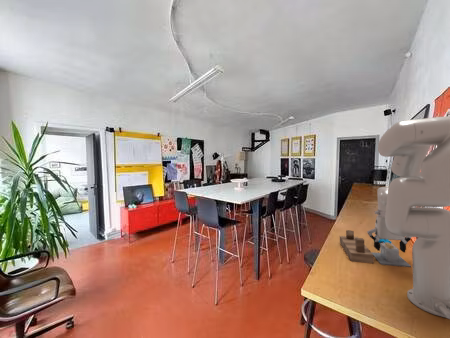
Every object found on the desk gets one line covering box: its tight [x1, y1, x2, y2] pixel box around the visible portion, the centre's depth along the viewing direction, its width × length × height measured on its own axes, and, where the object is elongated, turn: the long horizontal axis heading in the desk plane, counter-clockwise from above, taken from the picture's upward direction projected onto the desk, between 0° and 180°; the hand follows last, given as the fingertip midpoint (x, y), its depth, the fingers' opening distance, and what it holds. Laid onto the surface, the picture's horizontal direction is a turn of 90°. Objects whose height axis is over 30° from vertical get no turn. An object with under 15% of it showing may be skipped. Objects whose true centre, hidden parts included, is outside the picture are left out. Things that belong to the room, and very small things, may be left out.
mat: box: [371, 251, 412, 268], centre depth 93 cm, size 11×11×1 cm
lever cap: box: [379, 242, 400, 262], centre depth 93 cm, size 6×5×7 cm
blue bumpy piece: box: [378, 239, 393, 244], centre depth 109 cm, size 11×6×10 cm
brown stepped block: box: [339, 229, 375, 264], centre depth 103 cm, size 22×9×10 cm, turn 162°
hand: (389, 250), depth 92 cm, fingers open, 9 cm apart
